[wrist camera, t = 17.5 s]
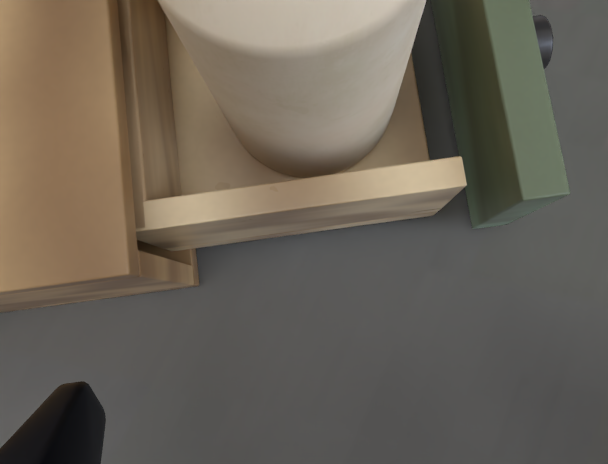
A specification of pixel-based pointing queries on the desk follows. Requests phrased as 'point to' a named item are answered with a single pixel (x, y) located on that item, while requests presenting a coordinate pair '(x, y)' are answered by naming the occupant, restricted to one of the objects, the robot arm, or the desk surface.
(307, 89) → the candle
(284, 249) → the desk surface
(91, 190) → the box
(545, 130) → the drawer
